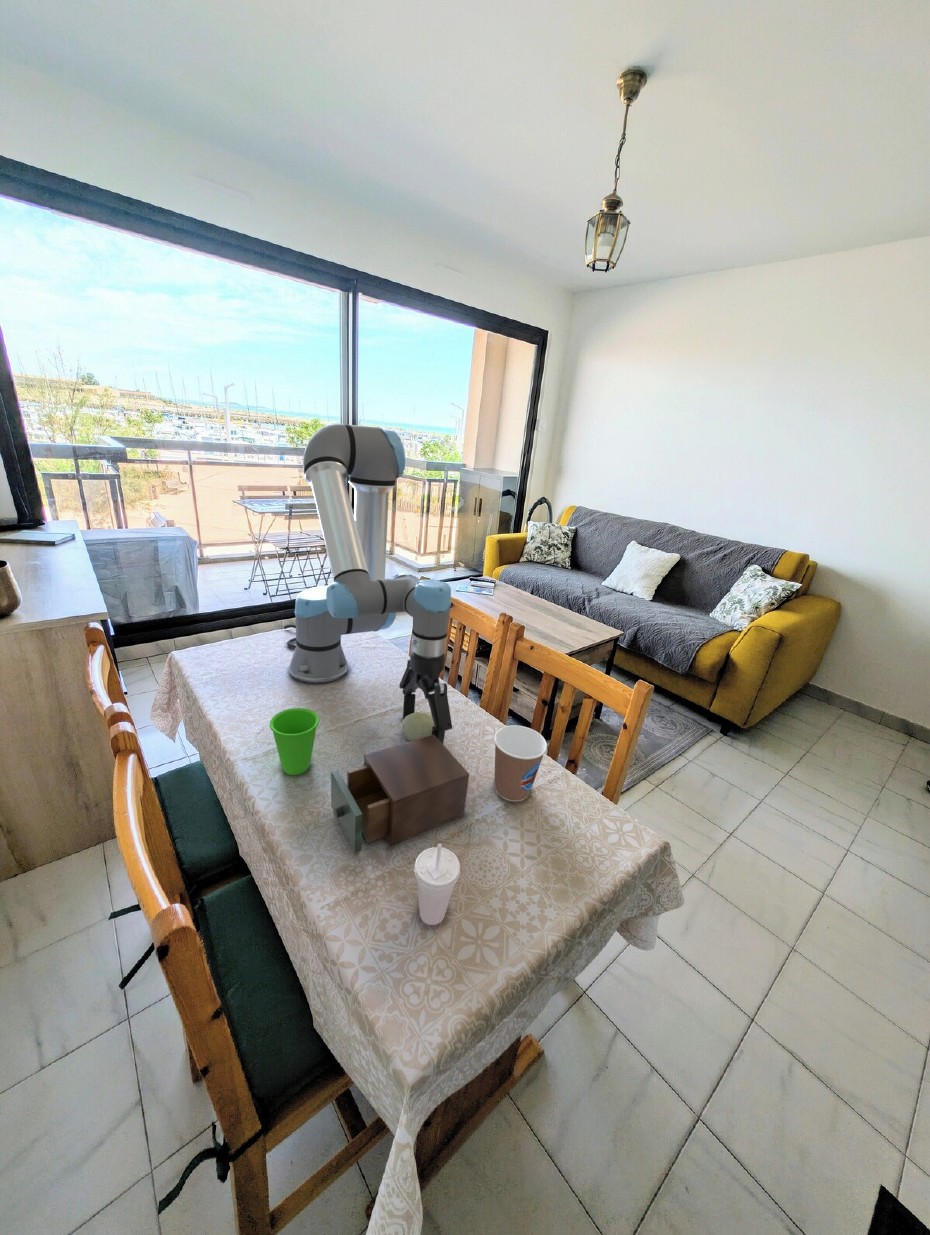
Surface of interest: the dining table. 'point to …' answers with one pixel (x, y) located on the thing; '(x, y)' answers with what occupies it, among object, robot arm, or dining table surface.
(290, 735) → the cup
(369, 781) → the drawer
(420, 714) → the sea urchin shell
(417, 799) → the cabinet
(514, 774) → the coffee cup
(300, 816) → the dining table surface
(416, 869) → the smoothie
